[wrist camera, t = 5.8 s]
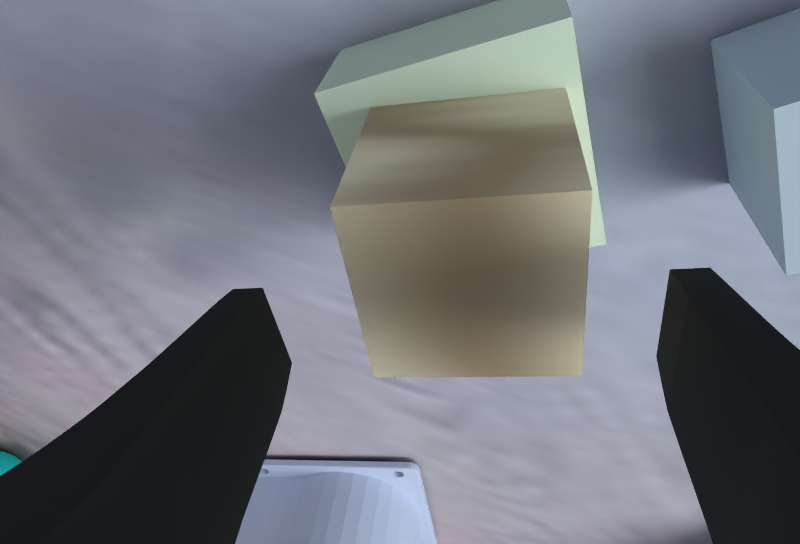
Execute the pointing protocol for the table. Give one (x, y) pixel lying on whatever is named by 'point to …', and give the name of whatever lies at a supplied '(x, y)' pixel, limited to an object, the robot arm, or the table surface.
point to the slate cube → (764, 127)
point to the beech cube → (469, 236)
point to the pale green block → (462, 70)
